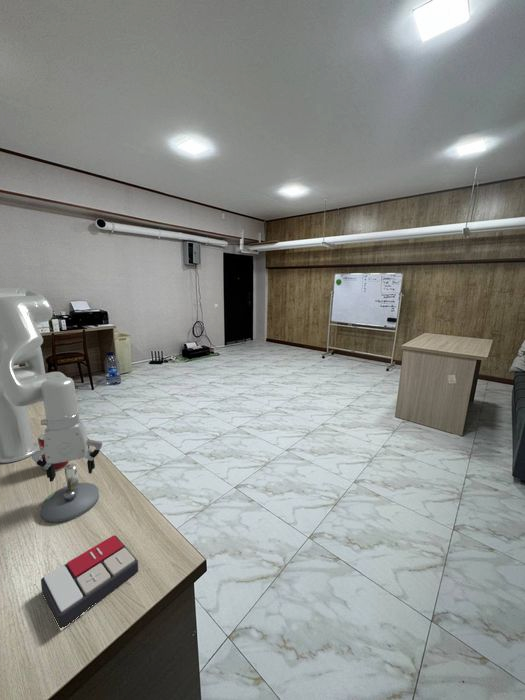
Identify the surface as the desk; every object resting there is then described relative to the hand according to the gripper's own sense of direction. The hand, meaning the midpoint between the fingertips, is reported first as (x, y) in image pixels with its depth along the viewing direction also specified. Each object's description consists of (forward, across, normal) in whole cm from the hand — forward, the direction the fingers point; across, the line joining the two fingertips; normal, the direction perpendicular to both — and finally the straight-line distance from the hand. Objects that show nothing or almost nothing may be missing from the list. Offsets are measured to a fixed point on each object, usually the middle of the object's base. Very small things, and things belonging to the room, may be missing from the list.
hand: (72, 474), depth 86 cm
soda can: (+6, -9, +18) cm, 21 cm away
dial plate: (+6, 0, -4) cm, 8 cm away
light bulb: (+4, 0, -1) cm, 5 cm away
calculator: (+8, +9, -32) cm, 34 cm away
